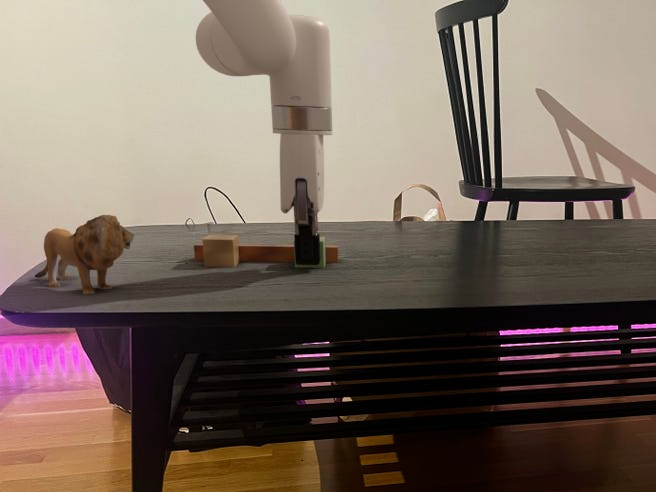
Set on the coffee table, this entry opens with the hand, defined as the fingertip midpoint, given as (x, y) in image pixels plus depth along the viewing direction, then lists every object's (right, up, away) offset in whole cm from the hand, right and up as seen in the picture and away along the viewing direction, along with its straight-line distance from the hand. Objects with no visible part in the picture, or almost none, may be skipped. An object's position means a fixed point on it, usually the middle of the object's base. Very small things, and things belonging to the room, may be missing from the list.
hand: (308, 263), depth 96 cm
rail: (-7, +1, +6) cm, 9 cm away
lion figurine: (-23, -5, -13) cm, 27 cm away
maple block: (-13, 0, +2) cm, 13 cm away
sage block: (-1, 0, +4) cm, 4 cm away
